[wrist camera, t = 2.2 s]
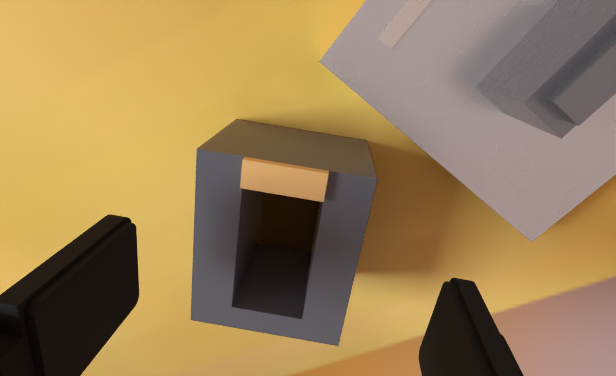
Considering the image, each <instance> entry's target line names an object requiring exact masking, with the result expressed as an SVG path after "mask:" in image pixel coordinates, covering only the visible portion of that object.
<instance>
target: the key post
mask: <svg viewBox="0 0 616 376" xmlns="http://www.w3.org/2000/svg"><path fill="white" fill-rule="evenodd" d="M319 62H320V63H321V64H323V65H324V66H325V67H326V68H327V69H328V70H330V71H331V72H332V73H333V74H334V75H336V76H337V77H338V78H339V79H340V80H341V81H343V82H344V83H345V84H346V85H347V86H348V87H350V88H351V89H352V90H353V91H354V92H356V93H357V94H358V95H359V96H360V97H361V98H363V99H364V100H365V101H366V102H367V103H368V104H370V105H371V106H372V107H373V108H374V109H376V110H377V111H378V112H379V113H380V114H381V115H383V116H384V117H385V118H386V119H387V120H388V121H390V122H391V123H392V124H393V125H394V126H396V127H397V128H398V129H399V130H400V131H401V132H403V133H404V134H405V135H406V136H407V137H408V138H410V139H411V140H412V141H413V142H414V143H416V144H417V145H418V146H419V147H420V148H421V149H423V150H424V151H425V152H426V153H427V154H428V155H430V156H431V157H432V158H433V159H434V160H436V161H437V162H438V163H439V164H440V165H441V166H443V167H444V168H445V169H446V170H447V171H448V172H450V173H451V174H452V175H453V176H454V177H455V178H457V179H458V180H459V181H460V182H461V183H463V184H464V185H465V186H466V187H467V188H468V189H470V190H471V191H472V192H473V193H474V194H475V195H477V196H478V197H479V198H480V199H481V200H483V201H484V202H485V203H486V204H487V205H488V206H490V207H491V208H492V209H493V210H494V211H495V212H497V213H498V214H499V215H500V216H501V217H503V218H504V219H505V220H506V221H507V222H508V223H510V224H511V225H512V226H513V227H514V228H515V229H517V230H518V231H519V232H520V233H521V234H523V235H524V236H525V237H526V238H527V239H528V240H530V241H531V242H532V241H534V240H535V239H536V238H537V237H538V236H540V235H541V234H542V233H543V232H545V231H546V230H547V229H548V228H550V227H551V226H552V225H553V224H555V223H556V222H557V221H558V220H560V219H561V218H562V217H563V216H565V215H566V214H567V213H568V212H570V211H571V210H572V209H573V208H575V207H576V206H577V205H578V204H580V203H581V202H582V201H583V200H584V199H586V198H587V197H588V196H589V195H591V194H592V193H593V192H594V191H596V190H597V189H598V188H599V187H601V186H602V185H603V184H604V183H606V182H607V181H608V180H609V179H611V178H612V177H613V176H614V175H616V0H366V1H365V3H364V4H363V5H362V6H361V8H360V9H359V10H358V12H357V13H356V14H355V16H354V17H353V18H352V20H351V21H350V22H349V23H348V25H347V26H346V27H345V29H344V30H343V31H342V33H341V34H340V35H339V37H338V38H337V39H336V40H335V42H334V43H333V44H332V46H331V47H330V48H329V50H328V51H327V52H326V54H325V55H324V56H323V57H322V59H321V60H320V61H319Z"/></svg>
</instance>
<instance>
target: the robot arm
mask: <svg viewBox="0 0 616 376" xmlns="http://www.w3.org/2000/svg"><path fill="white" fill-rule="evenodd" d="M138 298H139V281H138V258H137V236H136V226H135V224H133V223H131V220H130V219H129V218H127V217H122V216H116V215H107V216H105V217H104V218H103V219H101V220H100V221H99V222H97V223H96V224H95V225H93V226H92V227H91V228H89V229H88V230H87V231H85V232H84V233H83V234H81V235H80V236H79V237H77V238H76V239H75V240H73V241H72V242H71V243H69V244H68V245H67V246H65V247H64V248H63V249H61V250H60V251H58V252H57V253H56V254H54V255H53V256H52V257H50V258H49V259H48V260H46V261H45V262H44V263H42V264H41V265H40V266H38V267H37V268H36V269H34V270H33V271H32V272H30V273H29V274H28V275H26V276H25V277H24V278H22V279H21V280H20V281H18V282H17V283H16V284H14V285H13V286H12V287H10V288H9V289H7V290H6V291H5V292H3V293H2V294H1V295H0V376H80V375H81V374H82V373H83V371H84V370H85V369H86V368H87V366H88V365H89V364H90V363H91V361H92V360H93V359H94V357H95V356H96V355H97V354H98V352H99V351H100V350H101V349H102V347H103V346H104V345H105V344H106V342H107V341H108V340H109V339H110V337H111V336H112V335H113V333H114V332H115V331H116V330H117V328H118V327H119V326H120V325H121V323H122V322H123V321H124V320H125V318H126V317H127V316H128V315H129V313H130V312H131V311H132V309H133V308H134V307H135V305H136V304H137V301H138ZM419 363H420V368H421V372H422V376H523V374H522V372H521V370H520V368H519V366H518V364H517V362H516V360H515V358H514V356H513V354H512V352H511V350H510V348H509V346H508V344H507V342H506V340H505V338H504V337H503V336H502V335H501V334H500V333H499V331H498V329H497V327H496V325H495V323H494V321H493V319H492V317H491V315H490V313H489V311H488V309H487V306H486V304H485V302H484V300H483V298H482V296H481V294H480V292H479V290H478V288H477V286H476V284H475V283H474V282H473V281H469V280H463V279H458V278H452V279H451V280H450V282H447V281H446V282H444V283H443V285H442V288H441V291H440V294H439V297H438V299H437V302H436V305H435V308H434V311H433V313H432V316H431V319H430V322H429V325H428V327H427V330H426V333H425V336H424V338H423V341H422V344H421V347H420V350H419Z"/></svg>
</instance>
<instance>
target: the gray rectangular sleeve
mask: <svg viewBox="0 0 616 376" xmlns="http://www.w3.org/2000/svg"><path fill="white" fill-rule="evenodd" d="M376 183H377V176H376V172H375V168H374V165H373V161H372V157H371V154H370V150H369V146H368V143H367V141H365V140H359V139H353V138H347V137H341V136H335V135H329V134H323V133H317V132H311V131H305V130H299V129H293V128H287V127H281V126H275V125H268V124H262V123H256V122H250V121H244V120H238V119H236V120H235V121H233V122H232V123H231V124H229V125H228V126H227V127H225V128H224V129H223V130H221V131H220V132H219V133H217V134H216V135H215V136H213V137H212V138H211V139H209V140H208V141H207V142H205V143H204V144H203V145H201V146H200V147H199V148H197V159H196V188H195V216H194V244H193V272H192V300H191V320H194V321H200V322H205V323H211V324H217V325H222V326H228V327H234V328H239V329H245V330H251V331H256V332H262V333H268V334H273V335H279V336H285V337H290V338H296V339H302V340H307V341H313V342H319V343H324V344H330V345H336V346H338V345H339V341H340V336H341V332H342V328H343V324H344V319H345V315H346V311H347V306H348V302H349V298H350V294H351V289H352V285H353V281H354V277H355V272H356V268H357V264H358V260H359V255H360V251H361V247H362V242H363V238H364V234H365V230H366V225H367V221H368V217H369V213H370V208H371V204H372V200H373V196H374V191H375V187H376ZM263 192H266V193H272V194H278V195H284V196H290V197H296V198H302V199H308V200H314V201H320V206H319V211H318V217H317V223H316V228H315V234H314V240H313V246H312V251H311V252H310V251H304V250H298V249H292V248H286V247H281V246H275V245H269V244H263V243H258V237H259V228H260V219H261V210H262V201H263Z"/></svg>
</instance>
